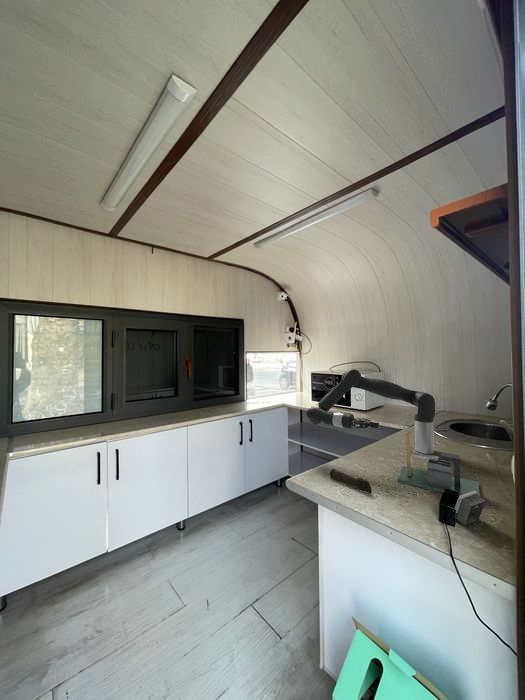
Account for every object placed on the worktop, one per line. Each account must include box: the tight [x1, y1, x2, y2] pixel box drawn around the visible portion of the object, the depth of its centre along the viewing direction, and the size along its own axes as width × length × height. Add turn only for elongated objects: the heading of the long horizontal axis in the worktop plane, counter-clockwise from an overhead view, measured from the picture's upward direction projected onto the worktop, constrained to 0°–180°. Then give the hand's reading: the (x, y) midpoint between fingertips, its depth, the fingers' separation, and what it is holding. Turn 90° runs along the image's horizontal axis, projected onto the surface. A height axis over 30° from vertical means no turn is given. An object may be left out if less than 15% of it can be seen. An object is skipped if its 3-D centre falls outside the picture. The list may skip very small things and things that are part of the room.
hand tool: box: [329, 468, 372, 494], centre depth 113 cm, size 19×4×5 cm, turn 37°
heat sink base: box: [397, 451, 481, 497], centre depth 114 cm, size 16×28×13 cm, turn 54°
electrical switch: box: [454, 491, 486, 526], centre depth 88 cm, size 9×5×9 cm, turn 113°
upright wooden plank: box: [405, 431, 439, 476], centre depth 117 cm, size 6×12×18 cm, turn 54°
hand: (378, 425), depth 128 cm, fingers closed
